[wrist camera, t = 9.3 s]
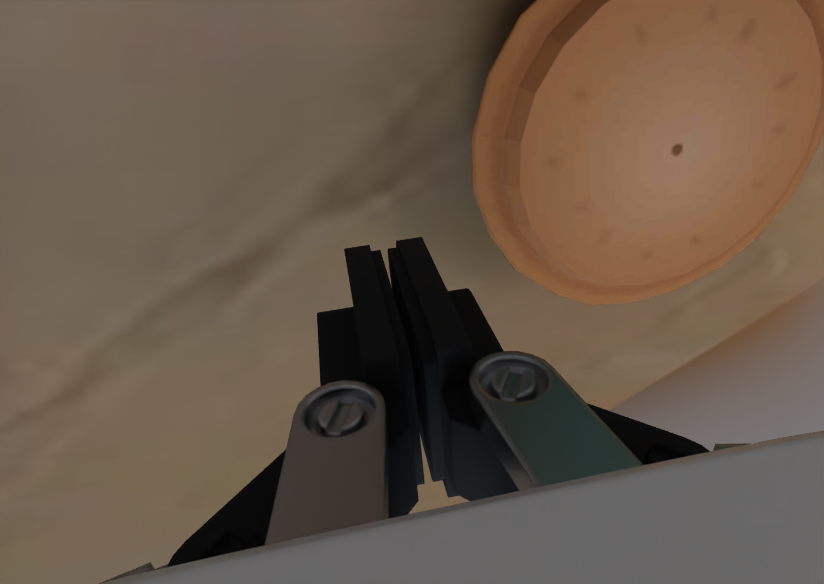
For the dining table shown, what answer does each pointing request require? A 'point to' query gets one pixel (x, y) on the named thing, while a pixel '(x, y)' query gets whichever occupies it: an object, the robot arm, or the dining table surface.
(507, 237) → the pie
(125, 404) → the dining table surface
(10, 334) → the dining table surface
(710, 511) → the robot arm
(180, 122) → the dining table surface
